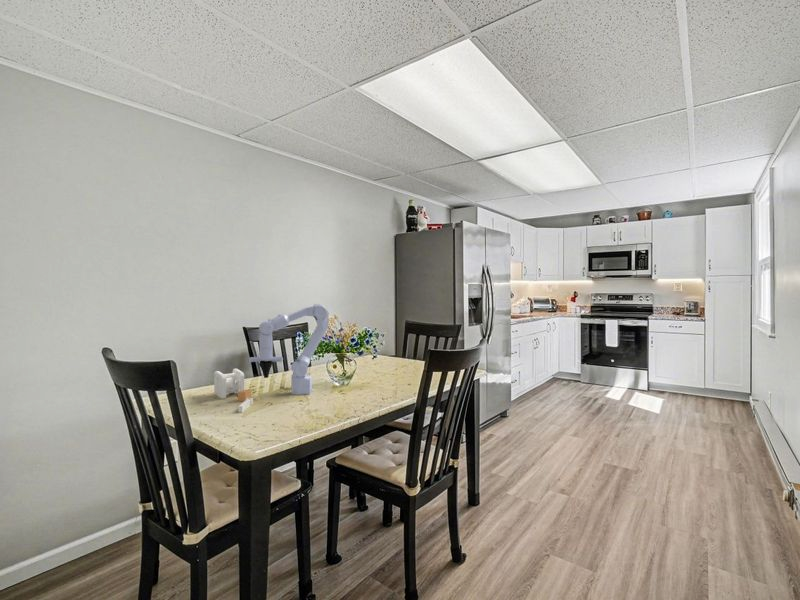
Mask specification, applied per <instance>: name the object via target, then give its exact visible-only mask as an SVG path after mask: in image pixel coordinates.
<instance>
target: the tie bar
mask: <svg viewBox="0 0 800 600" xmlns="http://www.w3.org/2000/svg"><path fill="white" fill-rule="evenodd" d="M252 405H254V398H253V397H251V398H247V399H246V400H245V401H244V402H243V401H242V402H241V403H240V404H239V405H238V409H237V410H238V412H237V413H244V412H245V411H246V410H247V409H248V408H249V407H250V406H252Z"/></svg>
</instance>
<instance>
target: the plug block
mask: <svg viewBox="0 0 800 600" xmlns="http://www.w3.org/2000/svg"><path fill="white" fill-rule="evenodd" d="M247 398H252V390H249V389H244V390H242V391H239V392H238V394H237V402H242V403H243V402H244V401H245V400H246V399H247Z"/></svg>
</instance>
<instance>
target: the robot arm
mask: <svg viewBox="0 0 800 600" xmlns="http://www.w3.org/2000/svg"><path fill="white" fill-rule="evenodd" d="M329 314H330V313H329V311H328V308H327V307H326V306H325V305H324V304H319V303H318V304H317V303H316V304H315V303H314V304H313V305H309V306H306V307H303V308H301V309H299V310H297V311H294V312H292V313H290V314H288V315H286V314H280V313H279V314H278V315H277V316H275V317H274V318H268V319H267V321H262V322H261V323H260V324H259V325H258V330H259V339H258V340H259V342H258V343H259V356H254V357H253V356H251V357H249V359H248V361H249V363H255V362H257V363H258V365H259V367H260V369H261V371H262V374H263V378H264V379H268V378H269V375H270V371H271V368H272V366H273V364H274V362H277V363H278V362H279V363H282V362H284V361H283V360H284V358H283V356H273V354H274V353H273V350H274V348H273V346H274V345H273V338H274V337H273V331H274V332H276V331H279V330H280V329H284V328H285V327H288V326H289V324H290V322H292V321H295V320H298V319H300V318H303V317H306V316H307V317H313V318H314V319H315V323H316V326H315V329H314V331H313V333H312V334H311V336H310V338H309V339H308V341H307V343H306V345H305V346H304V349H303V350H302V352H301V354H300V355H299V356H298V357H297V358H296V360H294V361H293V362H292V364H291V367H290V369H291V371H292V374H291V382H290V383H291V392H290V393H291V394H292V395H300V396H301V395H312V392H313V377H312V375H308V371H309V370H308V367H309V366H310V363H311V359H312V357H313V355H314V353H315V352H316V350H317V348H318V347H319V344H320V343H321V341H322V339H323V338H324V336H325V334H326V332H327V330H328V328H329V325H330V324H329V316H330V315H329Z"/></svg>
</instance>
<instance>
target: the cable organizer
mask: <svg viewBox="0 0 800 600" xmlns="http://www.w3.org/2000/svg"><path fill="white" fill-rule="evenodd" d="M213 378H214V379H213V382H214V383H213V384H214V386H213V388H214V389H213V390H214V394H215V396H218V397H219V398H220V399H221V400H223V399H224V400H225V399H227V396H228V397H229V395H230V394H234V395H238V392H239V391H242V390H245V373H244V372H243V371H241V370H240V369H238V368H233V369H232V372H231V373H223V372H221V371H219V370H216V371H214V372H213Z"/></svg>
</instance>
